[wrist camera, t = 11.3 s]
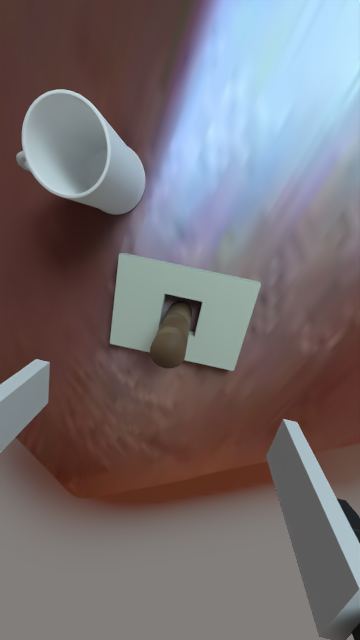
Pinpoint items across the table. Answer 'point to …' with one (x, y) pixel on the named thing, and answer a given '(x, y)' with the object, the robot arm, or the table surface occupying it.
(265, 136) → the table surface
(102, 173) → the mug
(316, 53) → the table surface
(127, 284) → the socket board
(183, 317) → the peg
